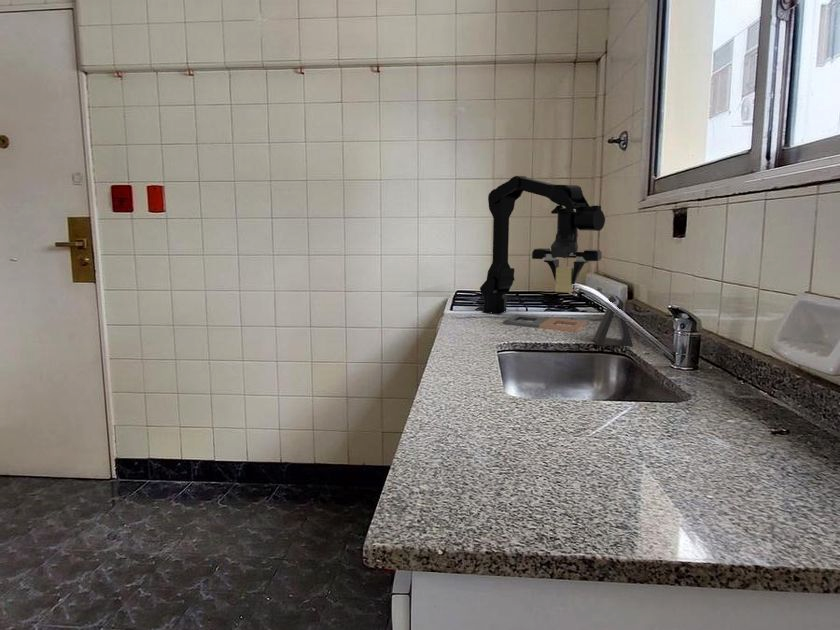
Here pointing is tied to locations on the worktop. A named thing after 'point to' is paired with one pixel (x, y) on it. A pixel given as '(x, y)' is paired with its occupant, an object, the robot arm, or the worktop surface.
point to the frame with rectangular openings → (545, 323)
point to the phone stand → (605, 326)
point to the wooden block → (564, 279)
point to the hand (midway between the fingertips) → (565, 284)
